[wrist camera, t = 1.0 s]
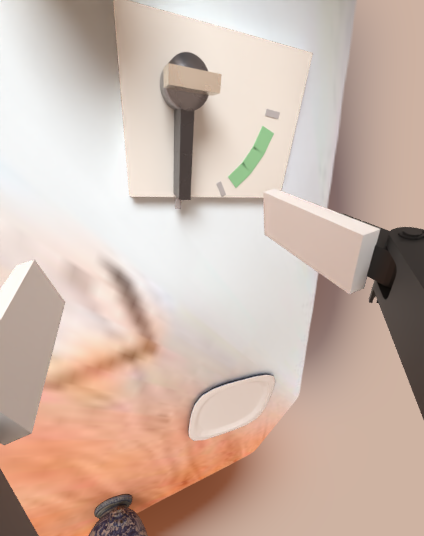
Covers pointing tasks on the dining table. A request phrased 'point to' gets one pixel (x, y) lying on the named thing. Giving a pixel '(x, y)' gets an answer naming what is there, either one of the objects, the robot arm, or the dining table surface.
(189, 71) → the dark grey lever
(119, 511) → the decorative vase
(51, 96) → the dining table surface
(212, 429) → the plate
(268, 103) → the gauge board
